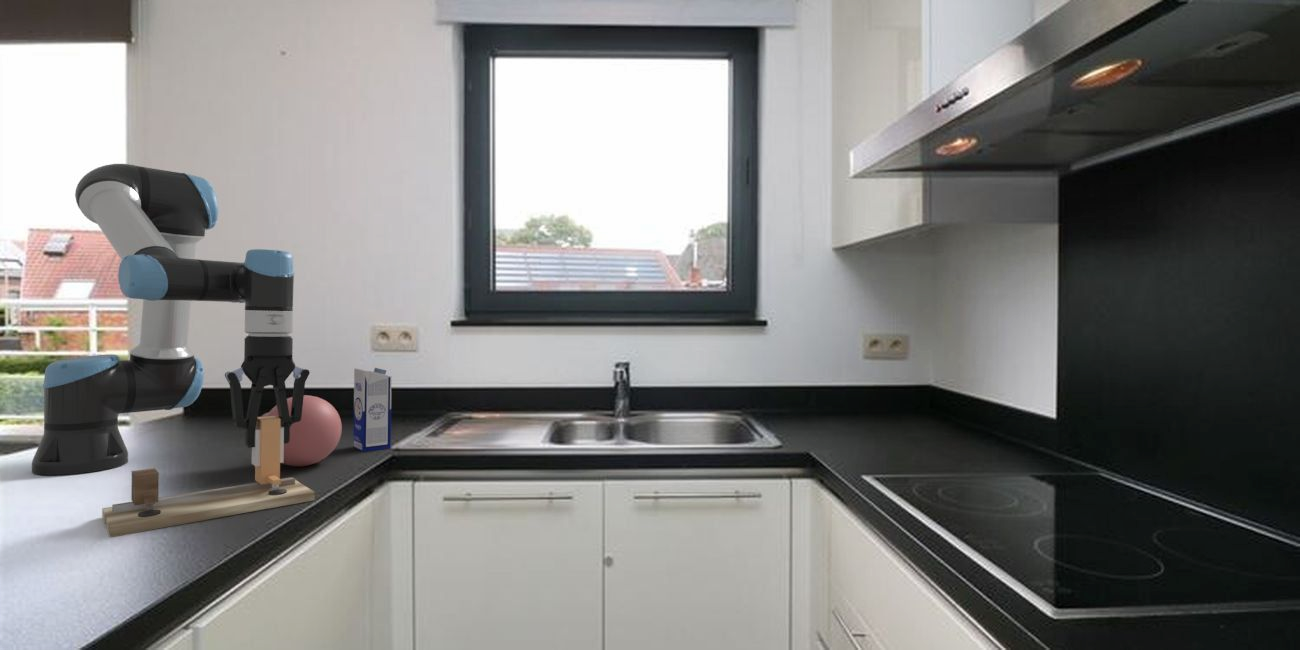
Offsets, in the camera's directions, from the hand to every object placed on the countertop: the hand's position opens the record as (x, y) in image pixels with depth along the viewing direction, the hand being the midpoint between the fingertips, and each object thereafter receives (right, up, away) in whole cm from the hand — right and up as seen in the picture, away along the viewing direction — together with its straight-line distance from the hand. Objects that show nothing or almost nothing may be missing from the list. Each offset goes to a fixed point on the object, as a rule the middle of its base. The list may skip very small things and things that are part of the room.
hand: (267, 462), depth 115 cm
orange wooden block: (+1, -4, -1) cm, 4 cm away
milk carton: (0, -6, +42) cm, 43 cm away
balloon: (-9, -6, +23) cm, 26 cm away
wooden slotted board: (-4, -6, -8) cm, 11 cm away
